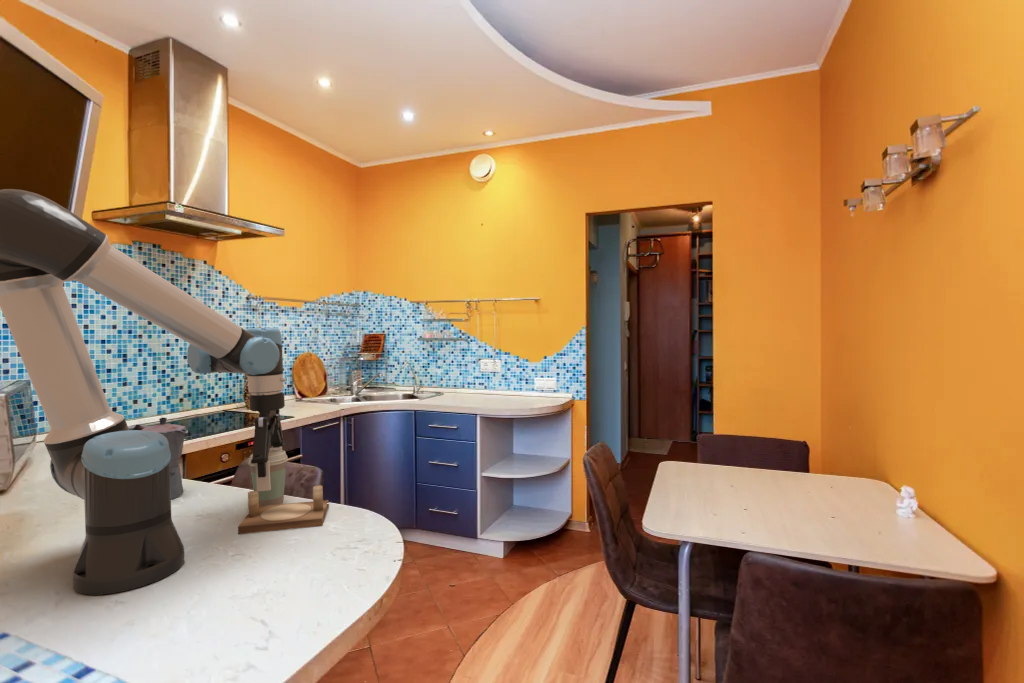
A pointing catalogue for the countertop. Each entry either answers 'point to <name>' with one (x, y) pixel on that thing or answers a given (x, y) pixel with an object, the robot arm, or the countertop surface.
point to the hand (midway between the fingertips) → (270, 481)
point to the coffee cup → (272, 478)
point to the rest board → (284, 514)
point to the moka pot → (171, 450)
